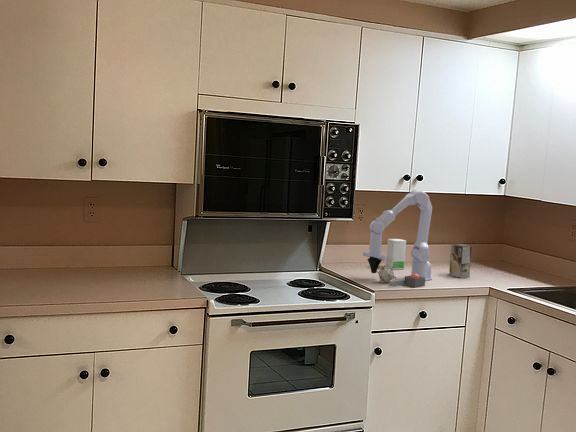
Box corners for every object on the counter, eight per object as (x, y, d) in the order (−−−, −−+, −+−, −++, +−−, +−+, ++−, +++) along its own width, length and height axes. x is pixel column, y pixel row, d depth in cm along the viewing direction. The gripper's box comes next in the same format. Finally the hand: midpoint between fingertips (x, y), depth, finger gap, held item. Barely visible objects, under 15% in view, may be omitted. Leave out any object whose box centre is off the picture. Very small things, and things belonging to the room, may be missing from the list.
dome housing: (414, 283, 313) (414, 274, 313) (424, 286, 308) (425, 277, 307) (404, 284, 309) (404, 276, 309) (414, 287, 304) (415, 279, 303)
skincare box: (391, 269, 343) (393, 240, 341) (385, 267, 349) (386, 238, 347) (405, 269, 346) (406, 240, 344) (398, 266, 352) (400, 238, 350)
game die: (384, 291, 310) (376, 276, 305) (379, 281, 318) (371, 266, 313) (401, 282, 310) (393, 267, 305) (395, 273, 317) (388, 258, 312)
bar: (402, 284, 309) (402, 279, 309) (404, 284, 308) (404, 279, 308) (388, 286, 304) (389, 281, 304) (390, 286, 303) (391, 281, 303)
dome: (414, 282, 312) (415, 271, 311) (422, 284, 308) (422, 273, 307) (407, 283, 309) (407, 272, 308) (414, 285, 305) (415, 274, 304)
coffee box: (470, 277, 332) (472, 246, 330) (460, 278, 329) (462, 246, 327) (457, 273, 340) (460, 243, 338) (448, 274, 337) (450, 243, 335)
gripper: (359, 243, 320) (357, 270, 322) (380, 248, 309) (378, 276, 310) (369, 242, 324) (368, 269, 326) (390, 247, 313) (388, 275, 314)
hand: (373, 272), depth 318 cm, fingers closed
